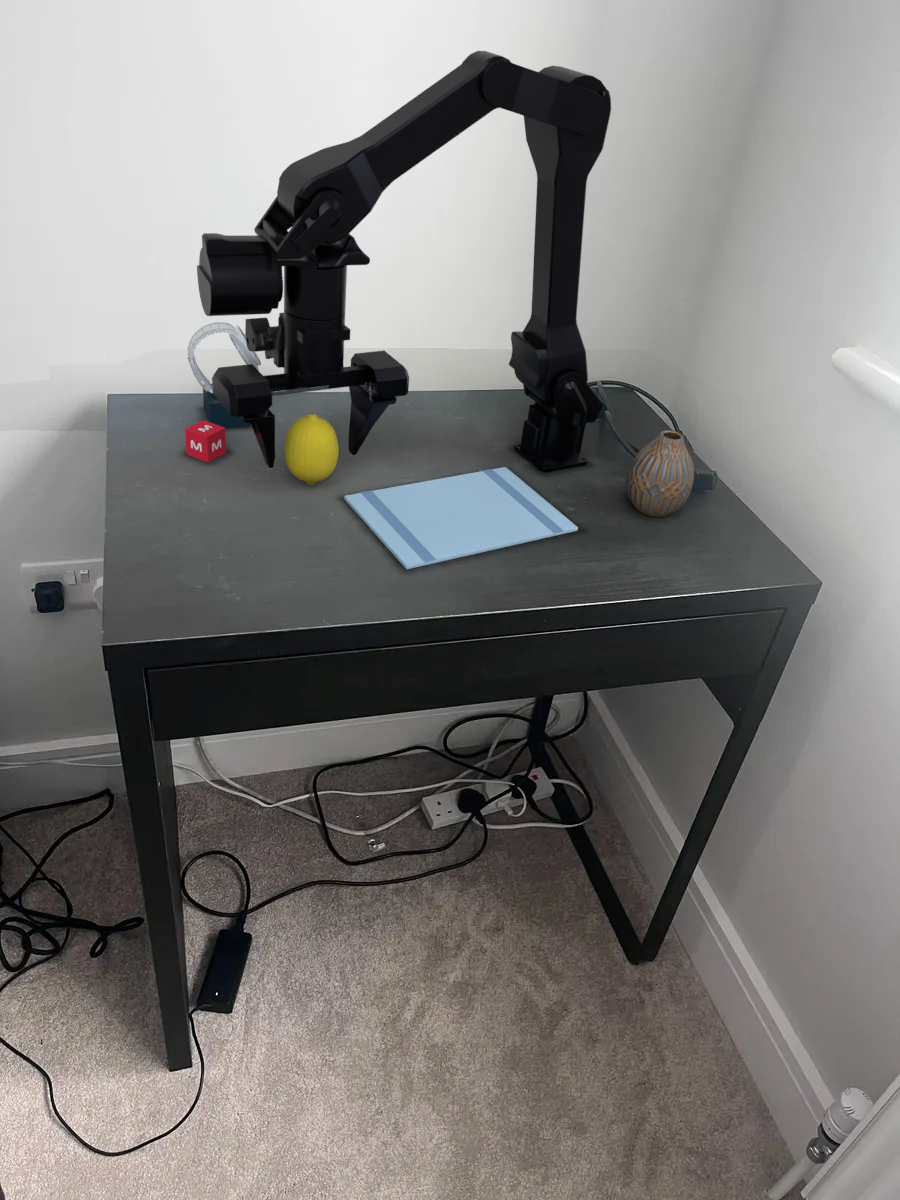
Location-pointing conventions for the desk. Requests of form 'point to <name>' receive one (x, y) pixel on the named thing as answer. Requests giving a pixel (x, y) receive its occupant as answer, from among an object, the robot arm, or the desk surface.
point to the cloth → (457, 516)
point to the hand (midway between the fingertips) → (311, 459)
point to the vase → (661, 476)
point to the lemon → (311, 449)
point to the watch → (211, 404)
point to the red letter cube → (205, 441)
